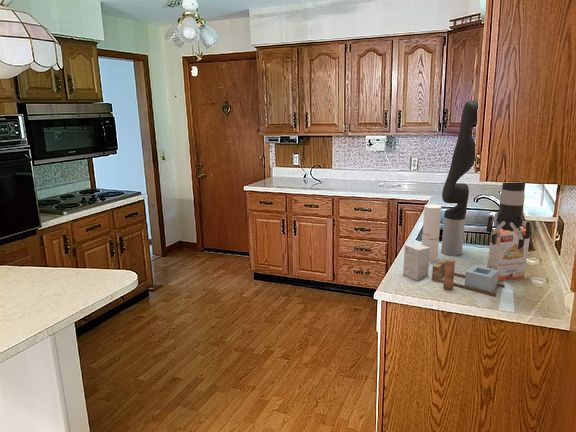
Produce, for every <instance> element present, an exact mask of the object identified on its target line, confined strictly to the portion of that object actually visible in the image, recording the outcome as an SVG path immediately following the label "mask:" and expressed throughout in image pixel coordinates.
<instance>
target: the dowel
mask: <svg viewBox="0 0 576 432" xmlns="http://www.w3.org/2000/svg"><path fill="white" fill-rule="evenodd" d="M455 268H456V261H455V260H454V259H447V260H446V261H445V273H444V277H443V280H444V283H443V284H442V285H443V286H442V289H443V290H445V291H452V290H453V289H454V286H453V283H454V281H455V280H454V279H455V278H454V277H455V276H454V273H455Z"/></svg>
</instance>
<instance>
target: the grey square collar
mask: <svg viewBox="0 0 576 432" xmlns="http://www.w3.org/2000/svg"><path fill="white" fill-rule="evenodd" d="M498 272H499V270H494V269H490V268H487V267H484V266H481V265H477V264H475V265H474V264H473V265H472V266H471V267H470V268H469V269H467V270H466V271H465V275H466V276H465V278H464V279H465V280H464V285H465V286H469V287H472V288H476V289H480V290H484V291H488V292H492V293H493V291H494V290H495V289H496V288H497V287H498V286H497V283H498Z"/></svg>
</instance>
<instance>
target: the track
mask: <svg viewBox="0 0 576 432" xmlns="http://www.w3.org/2000/svg"><path fill="white" fill-rule="evenodd" d="M446 260H448V259H446V258H443V259H442V260H440V261H439V262H436V263H434V264H433V266H432V271H431V281H433V282H436V283H441V284H444V279H443V278H444V273H445V261H446ZM465 276H466V274H463V273H458V272H454V277H459V278H462V279H465ZM453 287H455V288H456V287H457V288H460V289H463V290H468V291H471V292H474V293H475V292H476V293H478V294H482V295H486V296H491V297H497V293H495V292H493V291H492V292H488V291H484V290H480V289H476V288H472V287H469V286H465V284H459V283H458V282H457V283H456V282H453ZM497 287H498V288H503V289H504V288H505V287H506V285H505V284H503V283H499V282H497Z"/></svg>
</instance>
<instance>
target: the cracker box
mask: <svg viewBox="0 0 576 432" xmlns="http://www.w3.org/2000/svg"><path fill="white" fill-rule="evenodd" d="M520 228H521V229H522V232H523V233H524V235H526V227H522V226H520ZM492 229H493V230H494V228H492ZM491 237H492V234H491V233H490V238H491ZM530 238H531V237H530ZM530 238H529V239H525V241H524V247H523V248H521V249H520V250H519V249H518V243H519V239H520V238H519V237H518V235H517V234H516V233H515V231H508V230H503V229H500V230H499V231H498V232H497V243H496V244H495V245H493V244H492V243H491V239H490V242H489V248H488V249H489V251H488V257H487V265H486V268H490V269H494V270H499V272H498V281H500V282H501V281H506V280H513V279H520V278H523V279H524V278H525V273H526V268H527V267H526V265H527V259H528V254H529V246H530V240H531V239H530ZM498 281H497V282H498Z"/></svg>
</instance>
